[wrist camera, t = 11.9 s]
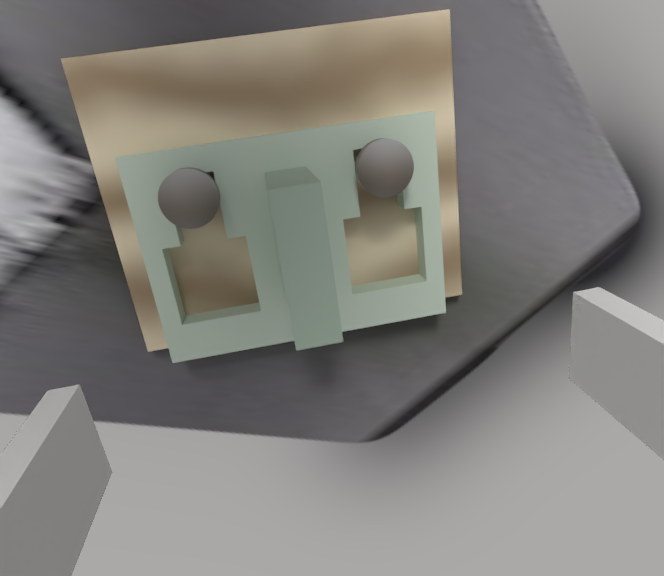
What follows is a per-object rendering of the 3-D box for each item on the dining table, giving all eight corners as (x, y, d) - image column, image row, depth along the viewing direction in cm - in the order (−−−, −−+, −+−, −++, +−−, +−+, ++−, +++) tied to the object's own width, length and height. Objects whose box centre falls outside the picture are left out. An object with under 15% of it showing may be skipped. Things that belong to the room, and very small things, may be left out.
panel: (122, 155, 29) (66, 171, 20) (425, 111, 30) (491, 109, 22) (176, 352, 33) (148, 432, 25) (438, 304, 35) (495, 364, 26)
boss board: (67, 60, 27) (32, 50, 23) (443, 12, 29) (475, -6, 25) (151, 345, 34) (135, 378, 29) (456, 289, 36) (484, 313, 31)
